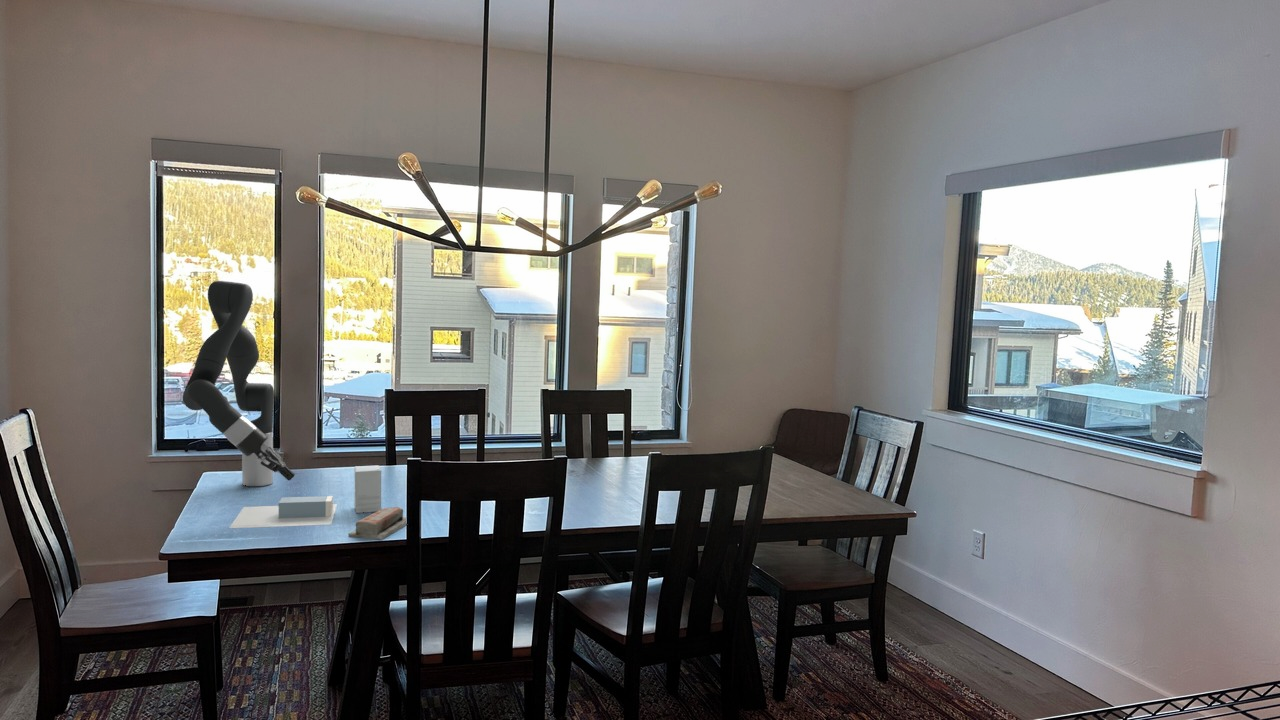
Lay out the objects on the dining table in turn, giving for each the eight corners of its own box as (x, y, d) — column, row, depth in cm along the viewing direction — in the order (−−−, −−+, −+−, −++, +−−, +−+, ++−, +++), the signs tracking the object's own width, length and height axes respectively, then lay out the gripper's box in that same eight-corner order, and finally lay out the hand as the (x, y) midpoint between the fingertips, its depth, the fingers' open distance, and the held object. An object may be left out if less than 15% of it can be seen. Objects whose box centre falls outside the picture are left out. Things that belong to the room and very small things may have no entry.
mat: (243, 508, 248) (243, 507, 248) (337, 505, 256) (337, 503, 255) (228, 529, 227) (228, 528, 227) (331, 525, 234) (331, 524, 234)
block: (281, 497, 243) (333, 496, 247) (281, 512, 244) (332, 511, 248) (278, 502, 238) (331, 501, 241) (278, 518, 238) (331, 516, 242)
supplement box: (379, 505, 257) (380, 464, 256) (381, 512, 250) (381, 470, 249) (354, 507, 254) (354, 465, 253) (355, 513, 247) (355, 471, 246)
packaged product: (382, 523, 223) (347, 520, 225) (382, 541, 224) (347, 538, 226) (412, 506, 241) (379, 503, 243) (412, 522, 242) (379, 520, 243)
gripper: (251, 430, 231) (299, 473, 235) (259, 422, 243) (304, 463, 248) (230, 450, 230) (278, 492, 234) (239, 441, 242) (285, 481, 247)
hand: (292, 477), depth 241 cm, fingers closed
